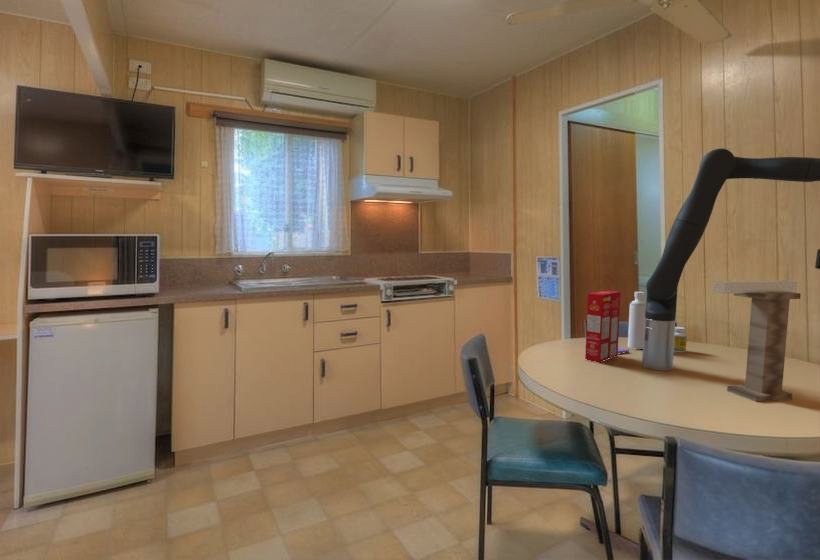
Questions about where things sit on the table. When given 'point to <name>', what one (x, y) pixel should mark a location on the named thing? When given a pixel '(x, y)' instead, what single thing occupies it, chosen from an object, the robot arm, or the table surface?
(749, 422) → the table surface
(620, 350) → the sponges
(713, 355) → the table surface
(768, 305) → the walnut stand
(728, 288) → the beige long bar
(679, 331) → the supplement bottle
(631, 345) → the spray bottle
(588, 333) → the food packaging
